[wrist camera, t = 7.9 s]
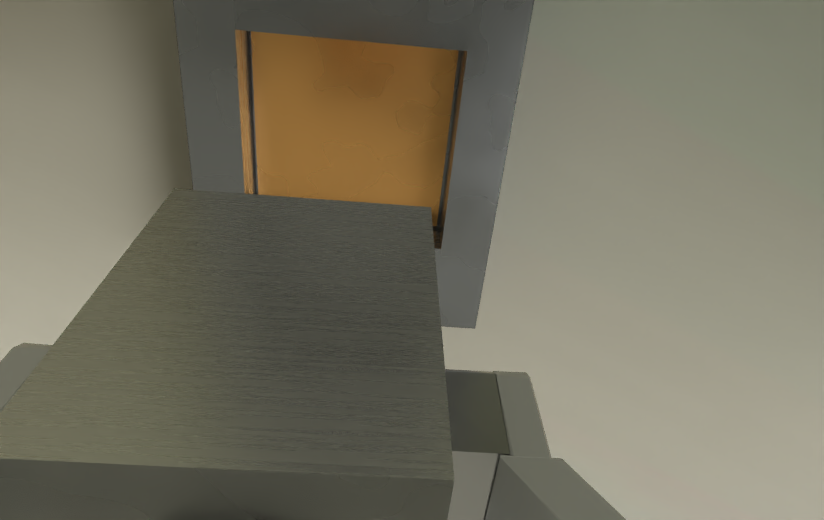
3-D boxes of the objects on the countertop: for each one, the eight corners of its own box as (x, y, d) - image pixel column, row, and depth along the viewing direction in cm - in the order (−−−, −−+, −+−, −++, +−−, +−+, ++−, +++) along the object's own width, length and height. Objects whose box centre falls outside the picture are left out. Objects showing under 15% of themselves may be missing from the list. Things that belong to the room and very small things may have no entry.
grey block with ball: (430, 207, 10) (456, 509, 5) (409, 393, 12) (413, 732, 7) (174, 188, 10) (-56, 485, 5) (198, 381, 12) (55, 724, 7)
